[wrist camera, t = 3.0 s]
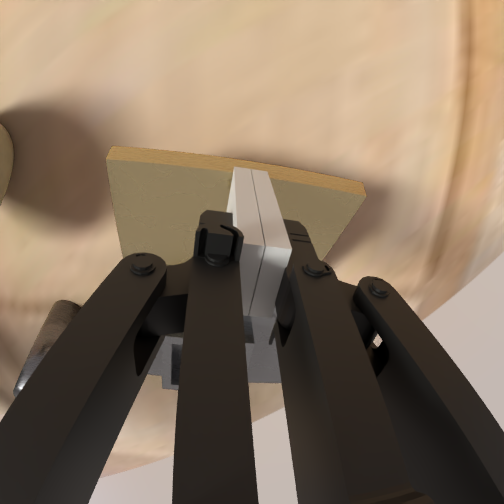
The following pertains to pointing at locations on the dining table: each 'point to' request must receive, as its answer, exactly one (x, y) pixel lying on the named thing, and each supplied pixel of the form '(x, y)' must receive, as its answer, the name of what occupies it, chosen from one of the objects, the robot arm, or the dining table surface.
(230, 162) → the brass leaf
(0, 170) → the flower pot
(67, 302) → the pin
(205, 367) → the robot arm
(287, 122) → the dining table surface
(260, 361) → the hinge base
